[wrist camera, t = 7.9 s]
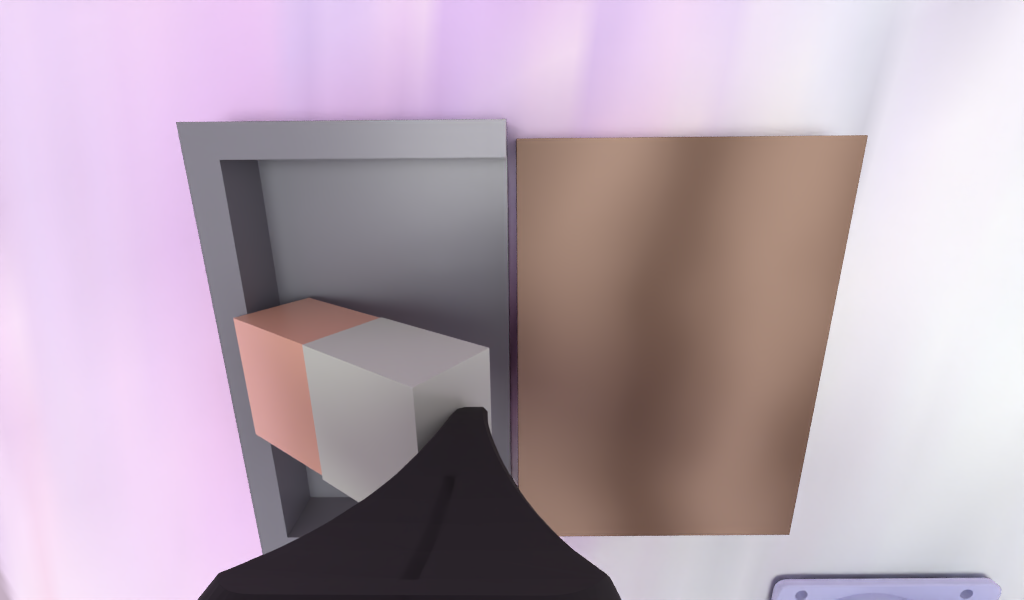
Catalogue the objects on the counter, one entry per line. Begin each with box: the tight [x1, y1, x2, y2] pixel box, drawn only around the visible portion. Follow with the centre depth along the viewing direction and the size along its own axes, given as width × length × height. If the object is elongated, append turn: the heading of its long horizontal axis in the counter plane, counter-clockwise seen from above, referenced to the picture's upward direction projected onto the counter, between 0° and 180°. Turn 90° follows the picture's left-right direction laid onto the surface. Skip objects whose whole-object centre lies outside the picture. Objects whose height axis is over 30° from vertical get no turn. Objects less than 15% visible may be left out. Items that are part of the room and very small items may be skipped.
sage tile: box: [302, 317, 492, 502], centre depth 13 cm, size 4×4×2 cm
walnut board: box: [516, 135, 868, 536], centre depth 17 cm, size 10×14×2 cm
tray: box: [176, 119, 511, 555], centre depth 17 cm, size 9×15×2 cm, turn 0°
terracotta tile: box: [233, 298, 379, 475], centre depth 15 cm, size 4×4×2 cm
